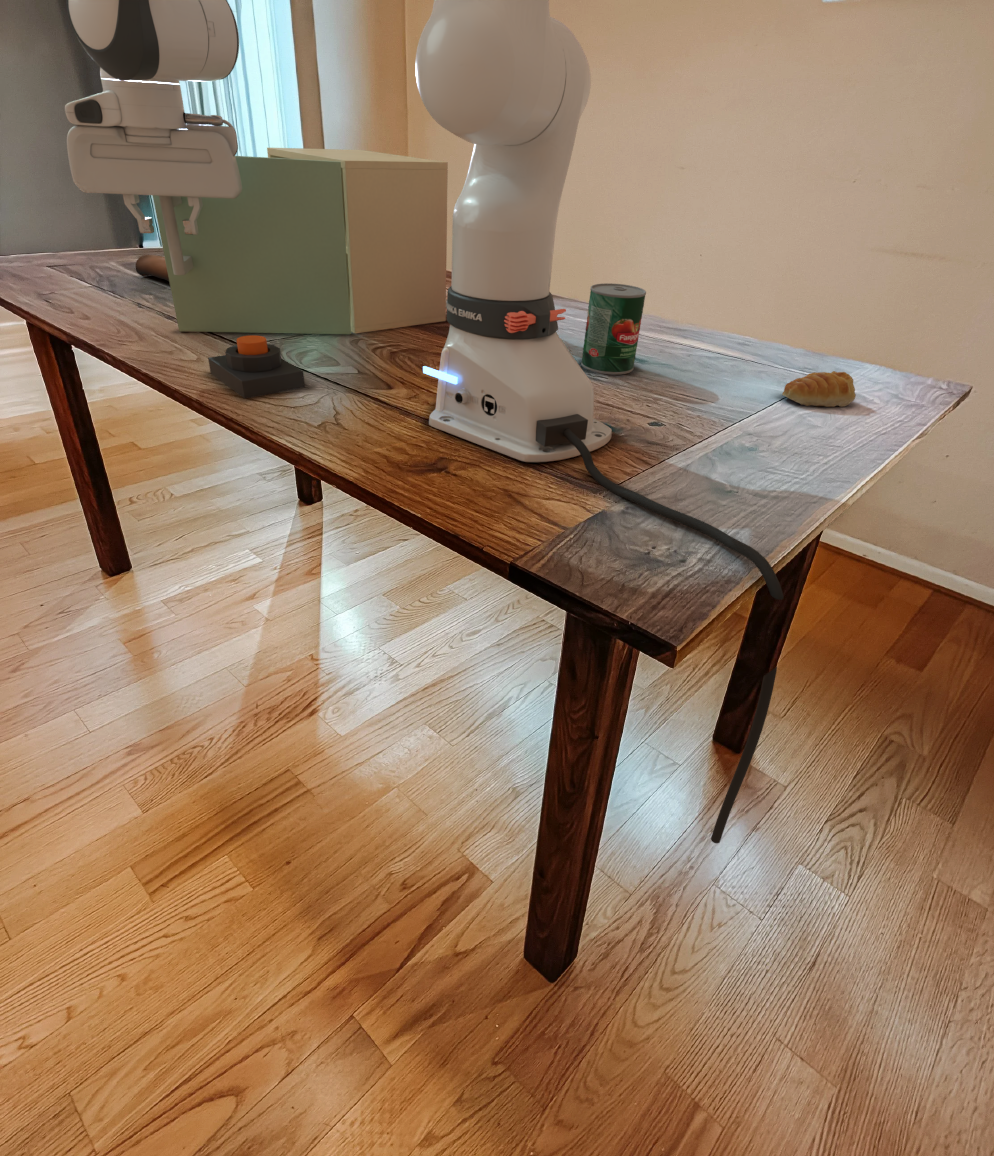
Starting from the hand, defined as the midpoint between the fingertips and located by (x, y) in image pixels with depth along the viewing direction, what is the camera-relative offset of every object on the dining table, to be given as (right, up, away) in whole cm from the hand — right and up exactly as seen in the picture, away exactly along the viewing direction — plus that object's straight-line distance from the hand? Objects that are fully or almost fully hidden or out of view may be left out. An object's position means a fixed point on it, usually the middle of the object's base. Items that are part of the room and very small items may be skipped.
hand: (169, 233), depth 94 cm
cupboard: (+20, +1, +30) cm, 37 cm away
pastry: (+89, -22, +2) cm, 92 cm away
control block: (+13, -21, -4) cm, 25 cm away
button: (+13, -18, -6) cm, 23 cm away
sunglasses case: (-17, +11, +41) cm, 46 cm away
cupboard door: (+9, -10, +13) cm, 18 cm away
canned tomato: (+61, -15, +10) cm, 64 cm away
